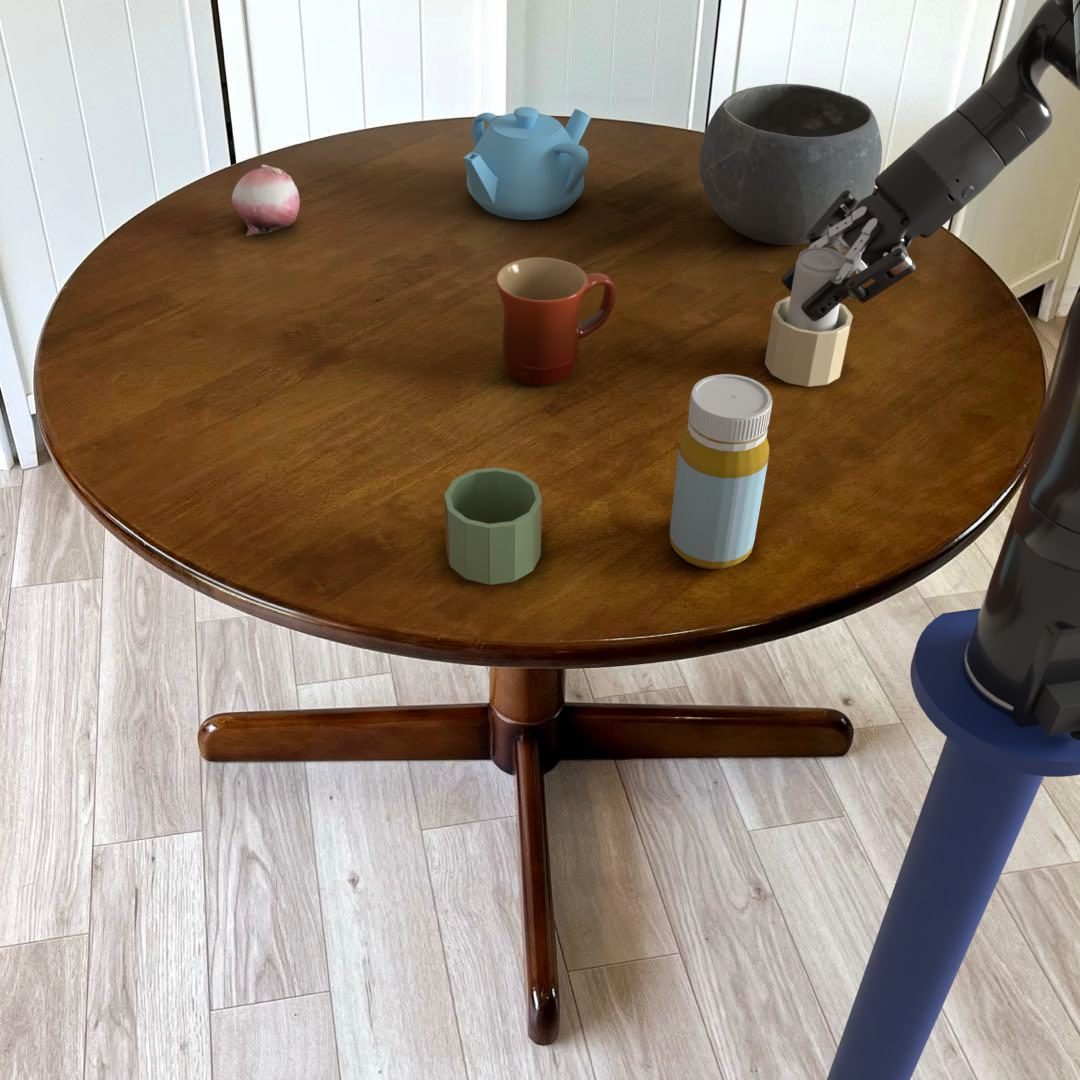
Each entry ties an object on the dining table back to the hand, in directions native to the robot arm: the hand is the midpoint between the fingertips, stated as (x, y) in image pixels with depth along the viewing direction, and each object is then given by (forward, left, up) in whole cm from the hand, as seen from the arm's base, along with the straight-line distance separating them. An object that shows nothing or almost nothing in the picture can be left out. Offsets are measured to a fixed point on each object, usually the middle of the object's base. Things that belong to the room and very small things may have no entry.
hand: (797, 300), depth 120 cm
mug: (+4, +23, -8) cm, 25 cm away
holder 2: (0, -2, -8) cm, 8 cm away
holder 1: (-23, +34, -8) cm, 42 cm away
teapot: (+43, +18, -8) cm, 47 cm away
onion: (+40, +50, -8) cm, 65 cm away
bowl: (+29, -10, -8) cm, 32 cm away
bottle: (-25, +16, -8) cm, 31 cm away
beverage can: (0, -2, -8) cm, 8 cm away
